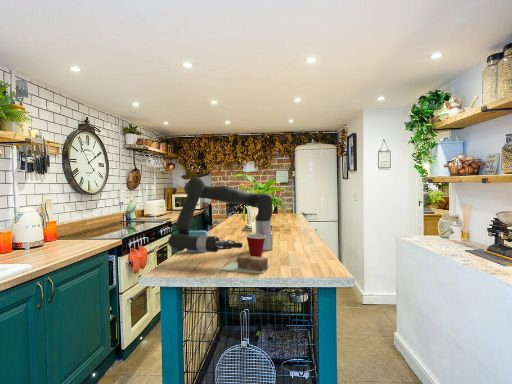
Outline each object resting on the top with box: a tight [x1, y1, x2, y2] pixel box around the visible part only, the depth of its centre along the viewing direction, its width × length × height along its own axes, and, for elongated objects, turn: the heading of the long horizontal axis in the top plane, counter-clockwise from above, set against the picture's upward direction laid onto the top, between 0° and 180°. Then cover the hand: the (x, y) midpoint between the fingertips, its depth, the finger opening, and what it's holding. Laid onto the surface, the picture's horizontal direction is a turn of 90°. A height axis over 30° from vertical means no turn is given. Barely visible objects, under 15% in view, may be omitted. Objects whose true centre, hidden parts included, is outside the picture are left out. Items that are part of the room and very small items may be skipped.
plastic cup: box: [245, 233, 266, 257], centre depth 170 cm, size 11×11×12 cm
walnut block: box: [237, 254, 269, 272], centre depth 146 cm, size 5×5×13 cm
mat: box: [220, 261, 272, 274], centre depth 149 cm, size 20×14×1 cm
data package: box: [185, 230, 209, 253], centre depth 188 cm, size 12×4×12 cm, turn 86°
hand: (242, 245), depth 150 cm, fingers closed
